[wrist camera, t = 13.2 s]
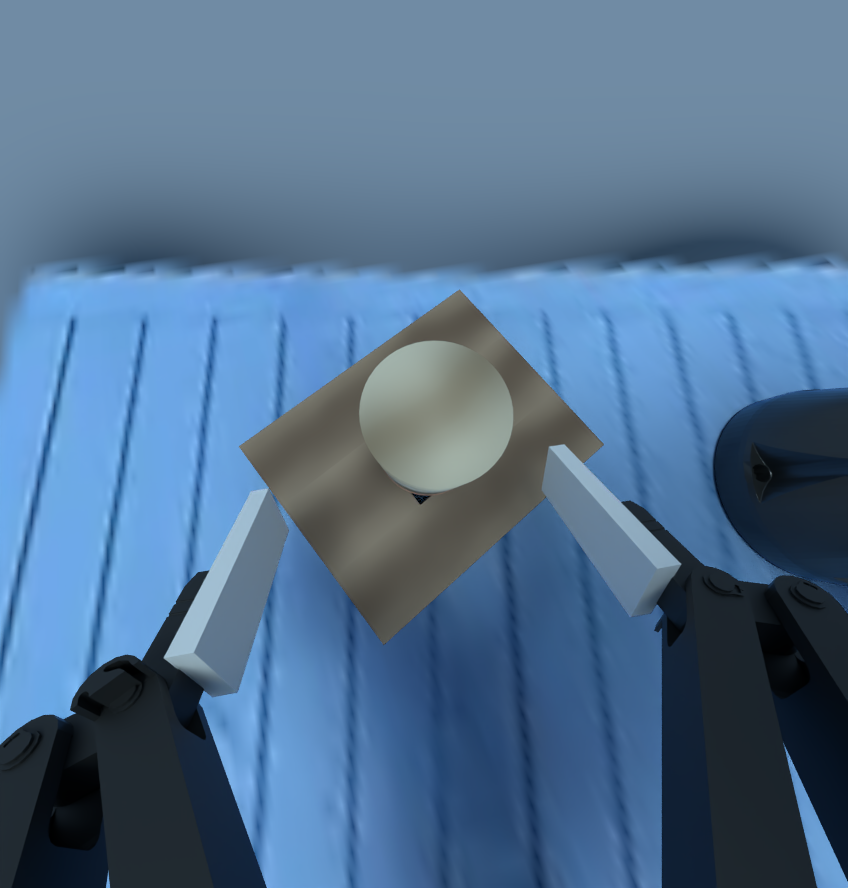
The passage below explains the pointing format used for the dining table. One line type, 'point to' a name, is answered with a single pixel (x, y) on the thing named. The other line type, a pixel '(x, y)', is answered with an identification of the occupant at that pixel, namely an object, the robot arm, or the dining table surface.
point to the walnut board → (394, 509)
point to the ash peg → (435, 416)
